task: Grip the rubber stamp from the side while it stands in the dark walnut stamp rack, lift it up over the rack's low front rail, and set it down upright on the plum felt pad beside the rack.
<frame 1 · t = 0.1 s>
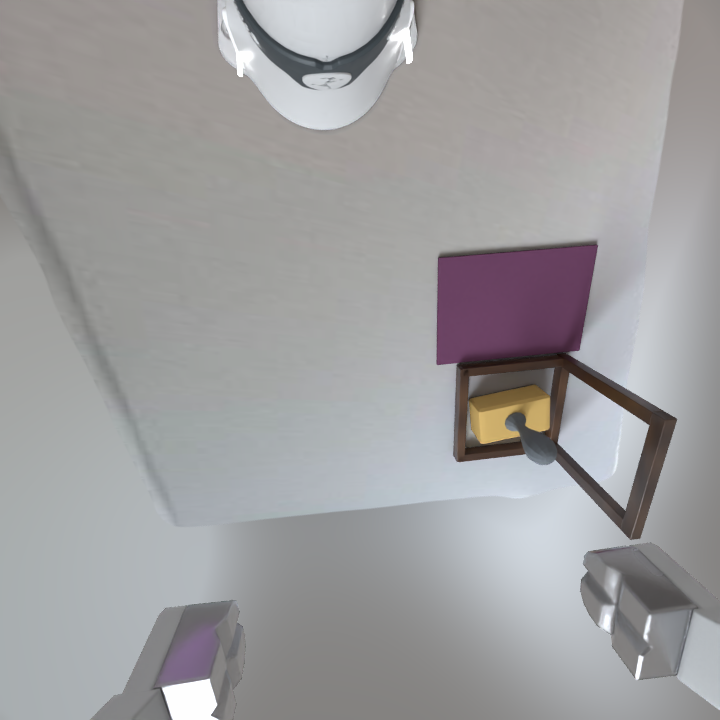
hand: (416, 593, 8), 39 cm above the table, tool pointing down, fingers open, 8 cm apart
felt pad: (512, 306, 47), on the table
rubber stamp: (502, 406, 53), resting in stamp rack
stamp rack: (503, 407, 53), on the table
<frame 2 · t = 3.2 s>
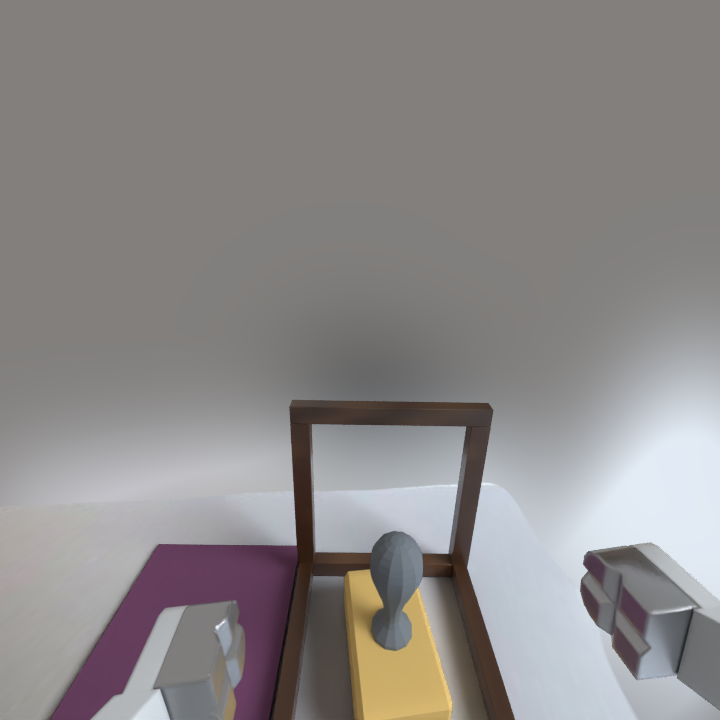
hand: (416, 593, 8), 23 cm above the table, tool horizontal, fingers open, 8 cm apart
felt pad: (185, 660, 27), on the table
rubber stamp: (387, 663, 27), resting in stamp rack
stamp rack: (388, 661, 27), on the table
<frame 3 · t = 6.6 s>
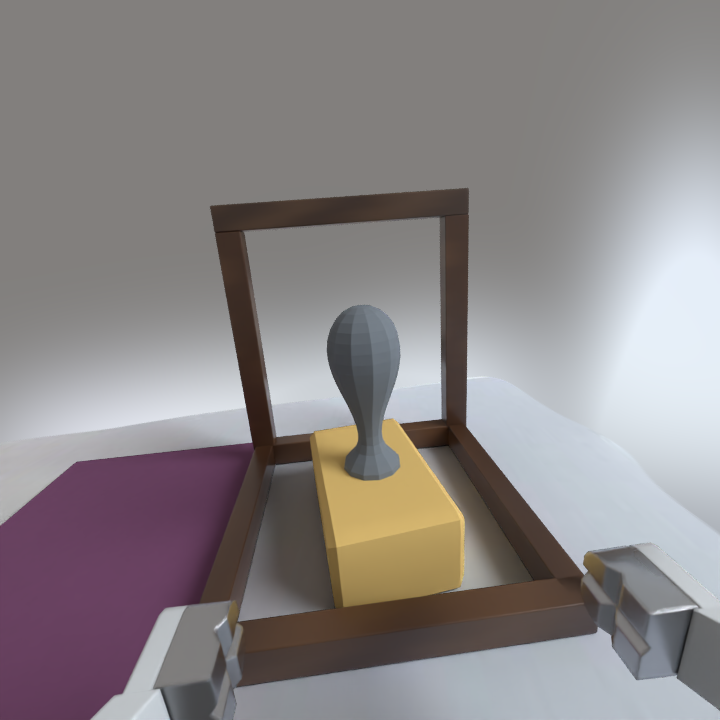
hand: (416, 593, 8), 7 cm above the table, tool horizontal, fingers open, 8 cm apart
felt pad: (92, 557, 19), on the table
rubber stamp: (375, 525, 20), resting in stamp rack
stamp rack: (375, 522, 20), on the table
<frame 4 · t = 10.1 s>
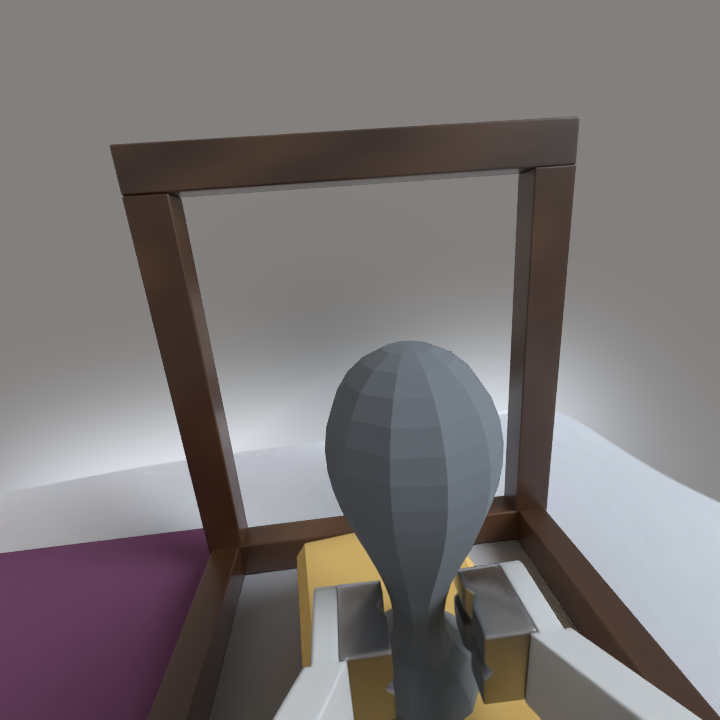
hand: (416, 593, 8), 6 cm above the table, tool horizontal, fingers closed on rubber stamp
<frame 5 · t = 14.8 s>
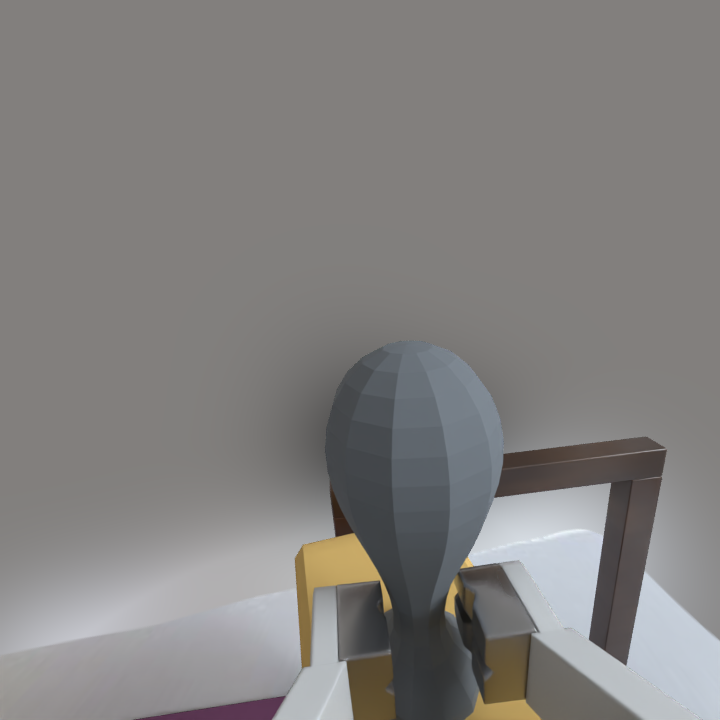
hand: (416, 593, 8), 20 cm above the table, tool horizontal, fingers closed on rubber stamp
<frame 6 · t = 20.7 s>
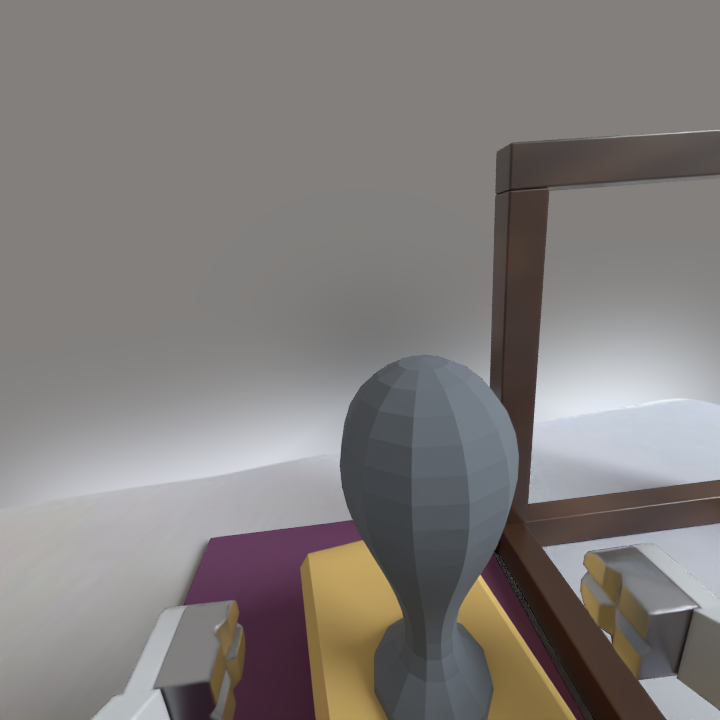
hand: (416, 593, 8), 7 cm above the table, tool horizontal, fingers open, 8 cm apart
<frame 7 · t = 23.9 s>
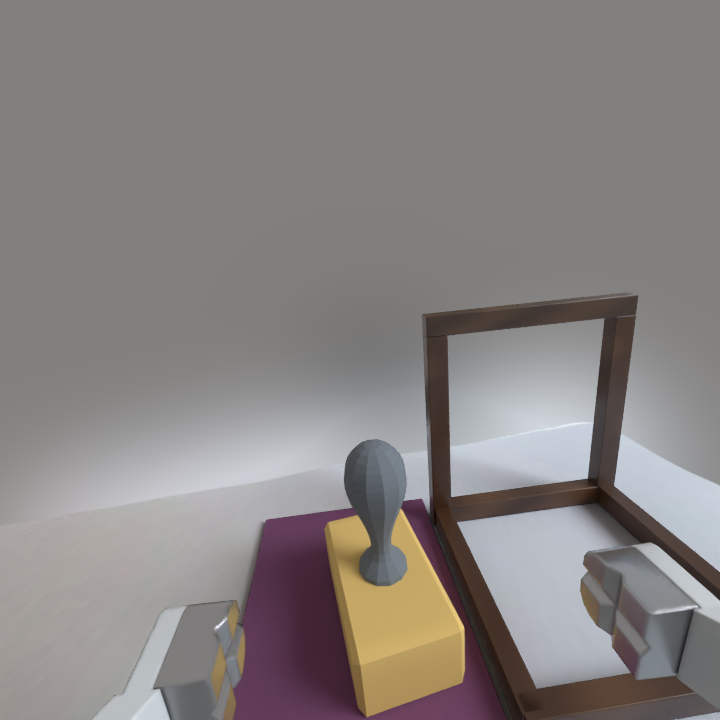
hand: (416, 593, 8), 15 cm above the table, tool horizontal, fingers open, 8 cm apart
felt pad: (352, 619, 23), on the table
rubber stamp: (386, 613, 23), resting on felt pad
stamp rack: (579, 585, 24), on the table
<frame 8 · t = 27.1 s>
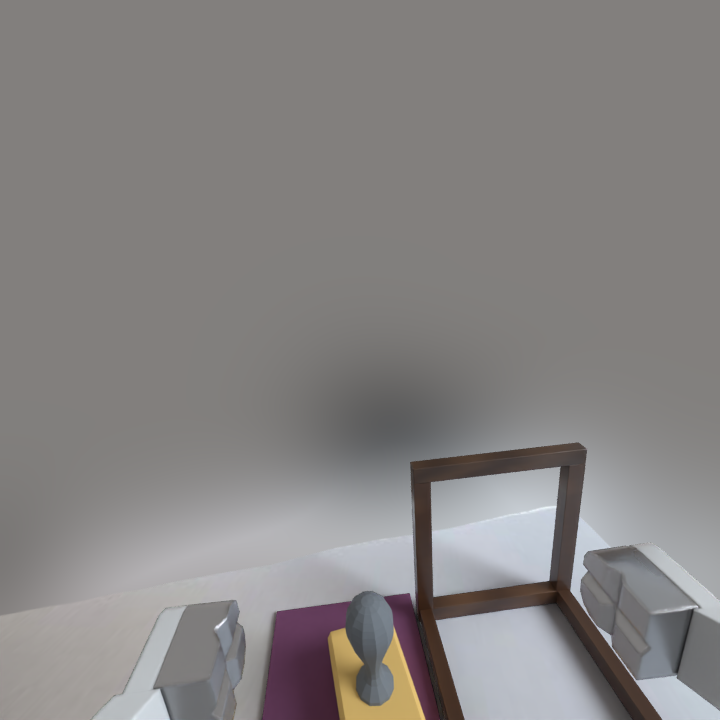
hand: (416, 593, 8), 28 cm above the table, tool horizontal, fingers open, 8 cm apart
rubber stamp: (377, 717, 29), resting on felt pad
stamp rack: (532, 692, 30), on the table
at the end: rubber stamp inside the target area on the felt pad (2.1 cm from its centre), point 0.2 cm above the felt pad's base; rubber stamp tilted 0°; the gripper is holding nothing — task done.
